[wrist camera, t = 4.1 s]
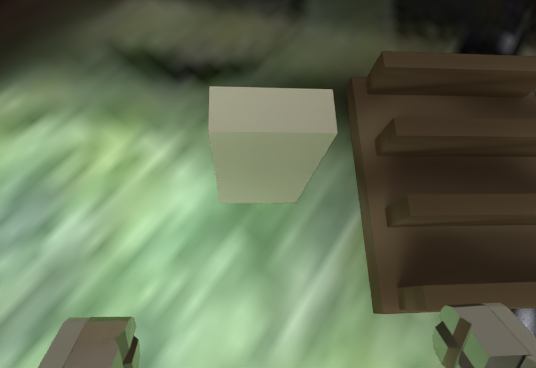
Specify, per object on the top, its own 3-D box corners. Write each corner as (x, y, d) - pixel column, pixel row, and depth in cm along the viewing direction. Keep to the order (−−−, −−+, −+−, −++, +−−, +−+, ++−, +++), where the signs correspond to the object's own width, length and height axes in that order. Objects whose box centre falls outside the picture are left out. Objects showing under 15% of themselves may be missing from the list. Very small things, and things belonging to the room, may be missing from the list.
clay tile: (295, 202, 23) (337, 132, 13) (219, 203, 22) (208, 131, 13) (293, 174, 23) (332, 89, 14) (220, 174, 23) (209, 86, 14)
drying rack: (581, 304, 22) (662, 305, 18) (373, 313, 21) (408, 316, 17) (515, 93, 27) (566, 54, 23) (345, 89, 26) (366, 48, 22)
